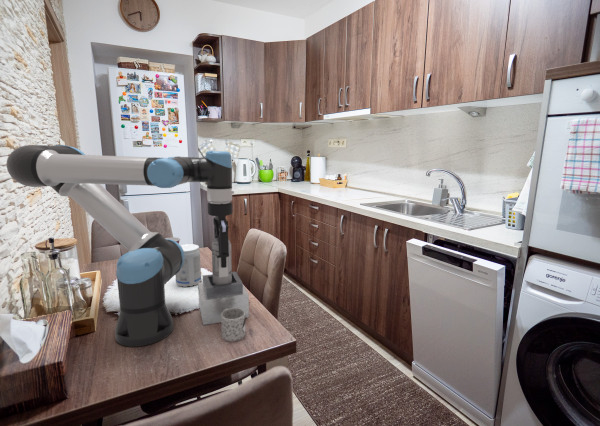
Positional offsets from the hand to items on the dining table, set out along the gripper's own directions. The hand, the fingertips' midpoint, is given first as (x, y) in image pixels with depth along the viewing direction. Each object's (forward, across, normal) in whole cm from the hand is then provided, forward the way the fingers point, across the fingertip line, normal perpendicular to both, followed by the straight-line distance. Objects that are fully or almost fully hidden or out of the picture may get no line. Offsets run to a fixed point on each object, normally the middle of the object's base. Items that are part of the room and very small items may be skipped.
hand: (221, 272), depth 105 cm
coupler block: (+13, 0, 0) cm, 13 cm away
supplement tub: (+14, +28, +9) cm, 32 cm away
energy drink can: (+4, 0, 0) cm, 4 cm away
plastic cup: (+14, +53, +16) cm, 57 cm away
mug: (+14, -14, 0) cm, 19 cm away
